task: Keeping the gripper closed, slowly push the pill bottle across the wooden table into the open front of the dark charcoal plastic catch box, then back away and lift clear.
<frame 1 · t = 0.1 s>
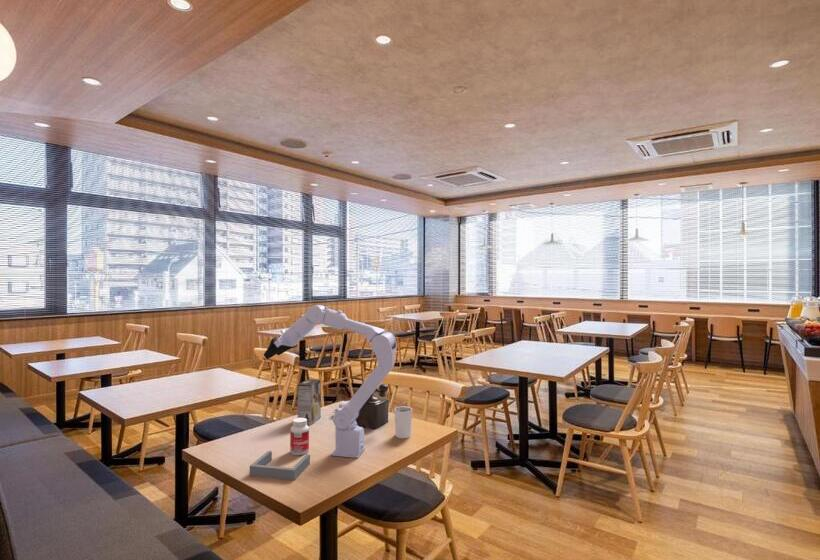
hand: (271, 355, 154), 32 cm above the table, tool tilted 50°, fingers open, 7 cm apart
catch box: (281, 468, 136), on the table
charger: (348, 415, 189), on the table
coffee box: (309, 421, 180), on the table
drinking glass: (403, 436, 165), on the table
pill bottle: (299, 452, 149), on the table
manual coffee grinder: (375, 425, 176), on the table
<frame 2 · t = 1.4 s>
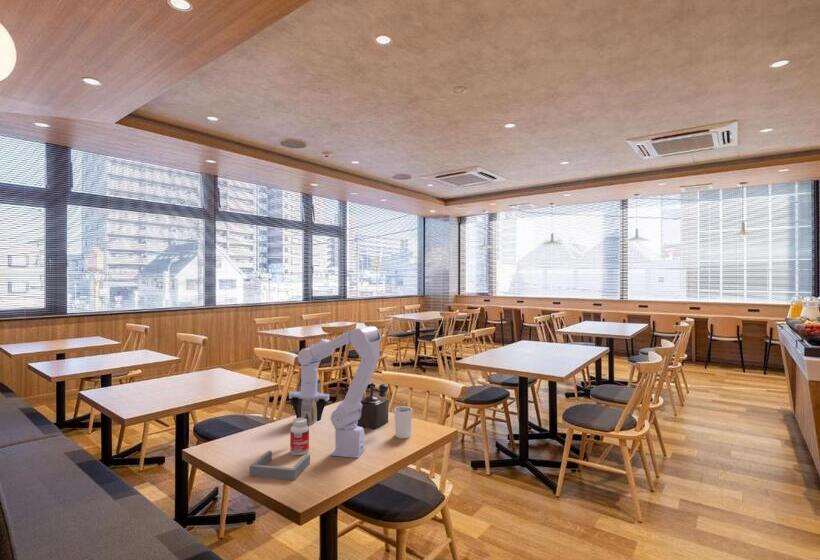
hand: (308, 419, 157), 9 cm above the table, tool pointing down, fingers open, 7 cm apart
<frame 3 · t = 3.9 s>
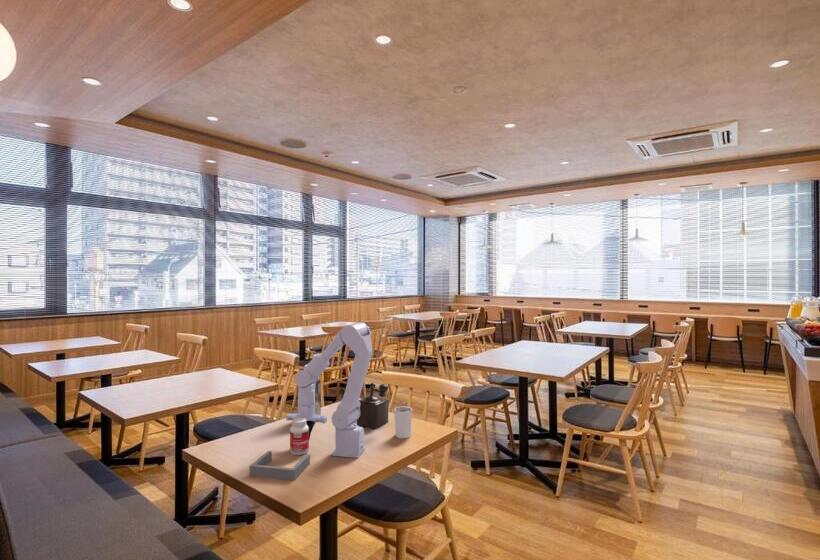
hand: (306, 441, 154), 1 cm above the table, tool pointing down, fingers closed, pressing on pill bottle
pill bottle: (299, 452, 149), on the table, touching gripper
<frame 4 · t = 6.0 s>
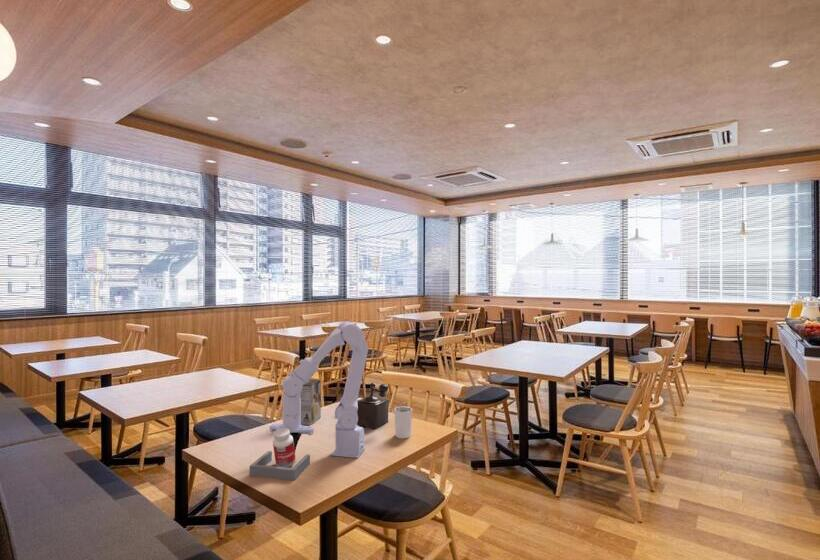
hand: (291, 454, 143), 2 cm above the table, tool pointing down, fingers closed, pressing on pill bottle
pill bottle: (286, 462, 139), point 1 cm above the table, touching gripper
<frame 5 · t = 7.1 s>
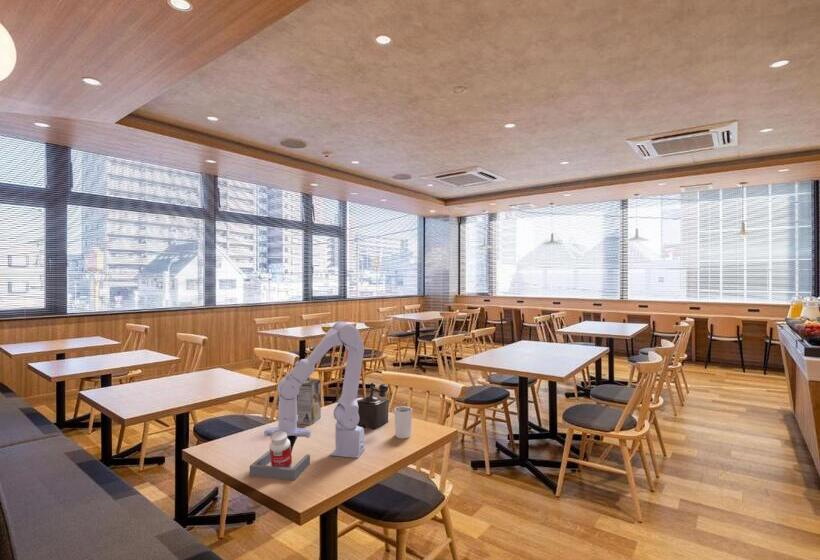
hand: (287, 458, 140), 1 cm above the table, tool pointing down, fingers closed, pressing on pill bottle
pill bottle: (282, 466, 136), point 1 cm above the table, touching gripper
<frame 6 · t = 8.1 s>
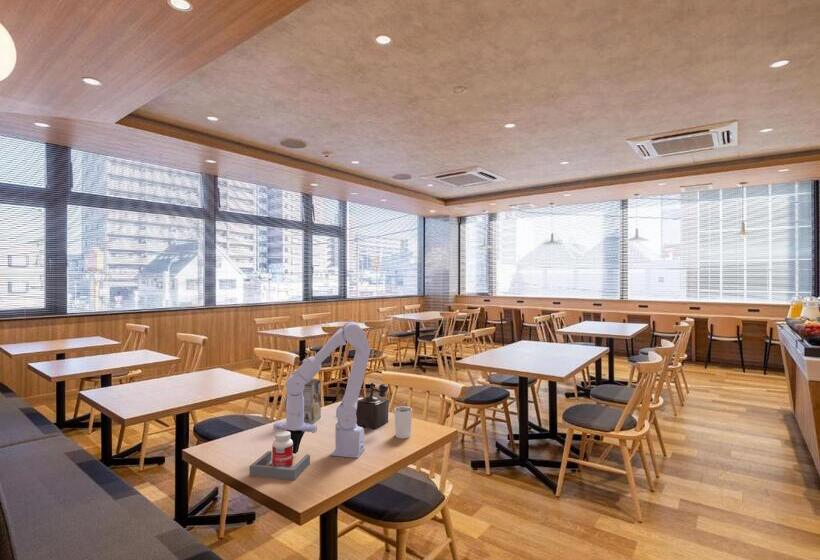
hand: (295, 452, 145), 1 cm above the table, tool pointing down, fingers closed
pill bottle: (282, 469, 136), resting in catch box
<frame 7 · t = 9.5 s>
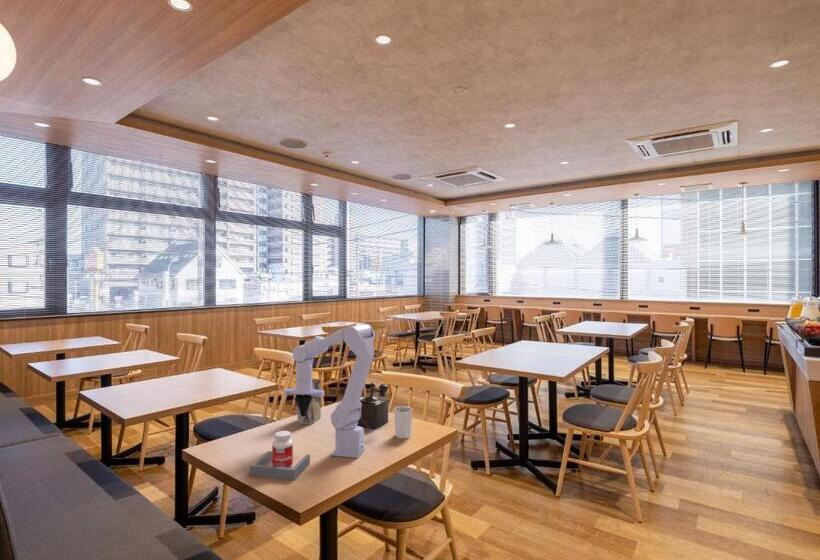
hand: (303, 415, 158), 9 cm above the table, tool pointing down, fingers closed
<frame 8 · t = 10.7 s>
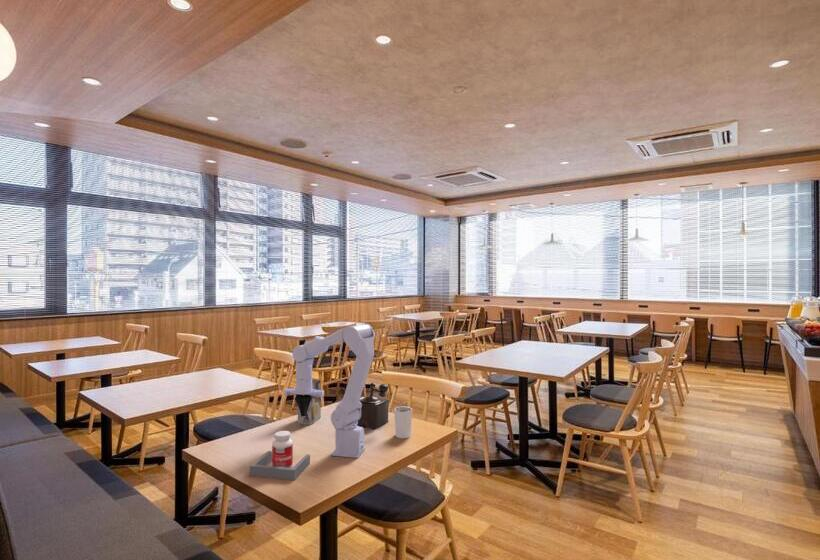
hand: (303, 415, 158), 9 cm above the table, tool pointing down, fingers closed
at the end: pill bottle inside the target area on the catch box (0.7 cm from its centre), point 0.0 cm above the catch box's base; pill bottle tilted 0° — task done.
